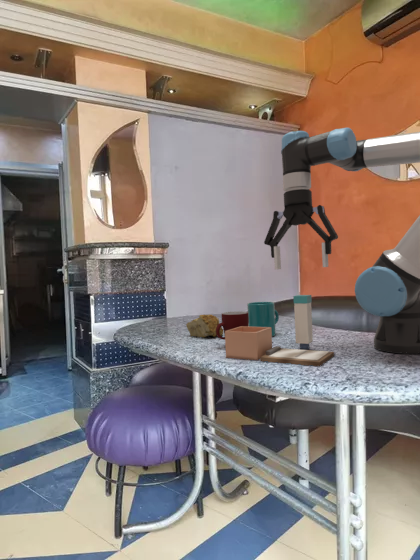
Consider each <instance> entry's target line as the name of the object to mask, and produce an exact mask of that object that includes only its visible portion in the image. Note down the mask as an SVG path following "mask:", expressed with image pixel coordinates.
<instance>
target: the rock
mask: <svg viewBox="0 0 420 560" xmlns="http://www.w3.org/2000/svg"><path fill="white" fill-rule="evenodd" d="M219 323H220V319H219V318H218V317H217V316H215V315H213V314H199V316H198V318H195V319H192V320H191V321H189V322H187V323H186V324H185V325H186V329H187V331H188V333H189V336H190V337H192V336H195V337H196V336H197V337H198V338H200V337H203V338H207V337H213V338H217V335H216V327H217V325H218V324H219ZM219 333H220V336H221V337H223V334H224V330H223V326H222V327H221V328H220V331H219ZM203 338H202V339H203Z"/></svg>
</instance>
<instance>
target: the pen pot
mask: <svg viewBox="0 0 420 560" xmlns="http://www.w3.org/2000/svg"><path fill="white" fill-rule="evenodd" d="M224 337H225V340H224V344H225V345H224V346H225V358H226V359H235V360H236V359H238V360H248V359H249V360H248V361H260V360H259V359H260V357H261V356H264V355H266V351H267V350H269V349H272V348H273V337H272V330H271V327H250V326H240V327H237V328H234V329H230V330H227V331H225V335H224Z"/></svg>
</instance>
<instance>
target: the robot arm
mask: <svg viewBox="0 0 420 560" xmlns="http://www.w3.org/2000/svg"><path fill="white" fill-rule="evenodd" d="M280 154H281V163H282V164H281V165H282V185H283V187H282V190H283V191H284V193H283V206H284V210H283V211H278V210H274V211H273V215H272V216H273V217H272V221H271V224H270V226H269V229H268V230H267V231H268V232H267V234H266V236H265V239H264V242H263V243H264V245H267V246H269V247H270V253H271V254H270V256H271V258H274V259H273V261H274V270H282V264H281V262H282V261H281V246H278V245H279V243H280V242H281V241H282V239H283V238H284V236H285V235H286V234H287V232H288V231H289V229H291V227H292V226H294V227H295V226H299V225H300V226H301V225H302V226H304V225H305V226H306V225H308V226H310V227H311V228H312V230H314V231H315V233H317V234H318V236H319V237H320V238H322V240H323V242H321V258H322V261H321V263H322V268H329V255H331V254H332V242H333V241H336V240H337V239H338V238H339V235H338V233H337V232H336V230H335V228H334V226H333V225H332V223H331V222H330V220H329V217H328V216H327V214H326V211H325V206H324V205H320V204H319V205H317V206H316V207H314V206H313V196H312V195H313V193H312V191H311V188H312V176H311V175H312V174H311V170H312V166H313V167H314V166H319V165H323V164H331V165H334V166H336V167H339V168H341V169H342V170H345V171H347V172H359V171H360V170H362V169H366V168H375V167H387V166H396V165H397V166H399V165H407V164H409V165H410V164H419V163H420V131H415V132H409V133H402V134H394V135H387V136H381V137H373V138H367V139H360V140H359V139H358V140H357V137H356V135H355V133H354V131H353V129H351V128H350V127H342V128H335V129H332V130H331V131H330V130H329V131H326V132H324V133H323V132H322V133H320V134H317V135H316V134H315V135H313V136H310V134H309V133H308V132H307V131H305V130H296V131H289V132H287V133H285V134H284V135H283V136H282V138H281V151H280ZM314 213H315V214H316V215H318V217H319V218H320V220H321V222H322V224H323V225H324V228H325V229H326V231H325V230H324V229H322V228H321V226H319V224H318V223H317V222H316V221H315V220H314V219H313V218H312V217H313V215H314ZM283 217H284V219H285V220H284V221H283V223H282V226H281V227H280V228H279V230H278V227H279V225H280V222H281V220H282V219H283ZM277 230H278V231H277ZM276 232H277V233H276ZM326 232H327V233H328V234H327V233H326ZM354 294H355V295H354V296H355V298H356V301H357V303H358V305H359V306H360V308H361V309H363V310H364V311H365V312H367V313H369V314H370V315H373V316H374V317H375V316H376V317H379V321H378V325H377V328H376V331H375V334H374V338H373V348H374V349H375V350H377V351H378V350H379V351H382V352H387V353H394V354H410V355H412V354H415V355H416V354H417V355H418V354H420V214H419V215H418V217H417V218H416V219H415V221H414V222H413V223H412V224H411V226H410V227H409V228H408V230H407V231H406V233H405V234H404V236H402V237H401V239H400V240H399V241H398V243H397V244H396V246H395V247H394V248H392V249H386V250H384V251H383V252H382V254H380V256H379V257H378V258H377V260H376V261H375V262H374V263H373V265H372V266H371V267H368V268H367V269H364V271H362V272H361V273H360V274H359V275H358V277H357V279H356V281H355V284H354Z"/></svg>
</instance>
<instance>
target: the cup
mask: <svg viewBox="0 0 420 560" xmlns="http://www.w3.org/2000/svg"><path fill="white" fill-rule="evenodd" d="M246 305H247V312H248V316H249V323H248V326H250V327H271V330H272V338H273V337H275V336H276V333H277V332H276V325H277V324H278V322H279V317H280V316H279V312H278V311H277V309H275V302H274V301H255V302H253V301H252V302H248V303H247V304H246Z"/></svg>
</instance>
